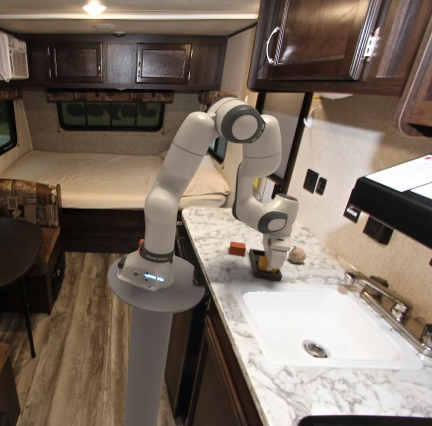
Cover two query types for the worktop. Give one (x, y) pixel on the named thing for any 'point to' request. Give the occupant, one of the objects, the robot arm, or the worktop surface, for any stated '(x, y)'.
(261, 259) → the yellow-orange rectangular block
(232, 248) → the orange-red rectangular block
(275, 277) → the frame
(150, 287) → the robot arm
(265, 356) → the worktop surface
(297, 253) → the garlic bulb
